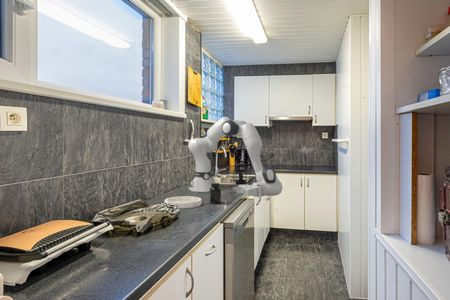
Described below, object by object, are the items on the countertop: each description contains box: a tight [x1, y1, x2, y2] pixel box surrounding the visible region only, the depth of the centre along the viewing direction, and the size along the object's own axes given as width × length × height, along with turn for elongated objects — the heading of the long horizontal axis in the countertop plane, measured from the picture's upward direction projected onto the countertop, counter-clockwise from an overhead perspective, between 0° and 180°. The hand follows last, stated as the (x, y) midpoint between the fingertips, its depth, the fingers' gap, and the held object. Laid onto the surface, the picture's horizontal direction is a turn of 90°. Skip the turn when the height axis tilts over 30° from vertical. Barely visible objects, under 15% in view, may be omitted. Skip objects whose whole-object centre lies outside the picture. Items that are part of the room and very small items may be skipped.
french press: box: [232, 156, 247, 186], centre depth 274 cm, size 12×9×23 cm
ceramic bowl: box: [164, 195, 203, 210], centre depth 193 cm, size 21×21×3 cm
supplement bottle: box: [209, 182, 222, 205], centre depth 196 cm, size 7×7×12 cm
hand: (234, 190), depth 199 cm, fingers open, 8 cm apart
